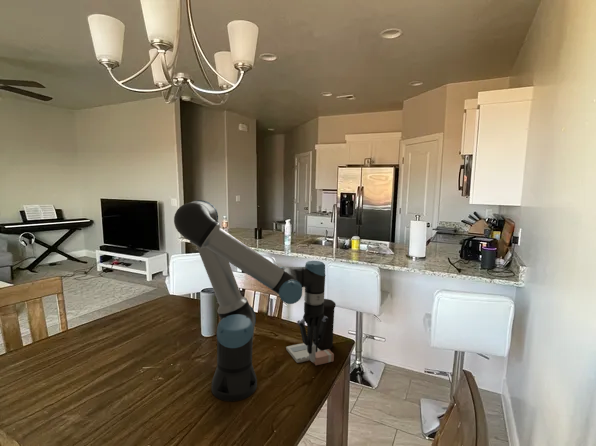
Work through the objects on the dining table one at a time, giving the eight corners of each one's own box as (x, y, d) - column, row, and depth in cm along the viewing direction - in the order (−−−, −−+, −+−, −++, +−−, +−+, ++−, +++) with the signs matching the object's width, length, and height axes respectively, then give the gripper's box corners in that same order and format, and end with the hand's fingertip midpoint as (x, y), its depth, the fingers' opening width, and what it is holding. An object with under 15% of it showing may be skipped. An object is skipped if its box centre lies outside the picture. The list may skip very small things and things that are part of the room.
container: (333, 340, 143) (335, 297, 141) (333, 351, 135) (336, 305, 132) (314, 339, 144) (316, 296, 142) (312, 349, 135) (315, 304, 133)
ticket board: (297, 363, 125) (297, 359, 125) (286, 349, 135) (286, 346, 135) (323, 356, 130) (324, 353, 130) (311, 344, 140) (311, 341, 140)
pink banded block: (315, 365, 123) (316, 358, 123) (310, 360, 127) (311, 352, 127) (333, 361, 127) (333, 354, 126) (328, 356, 130) (328, 349, 130)
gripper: (303, 307, 115) (301, 369, 118) (334, 303, 121) (331, 361, 124) (294, 300, 122) (292, 358, 125) (324, 296, 128) (321, 352, 131)
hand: (312, 360), depth 124 cm, fingers closed
